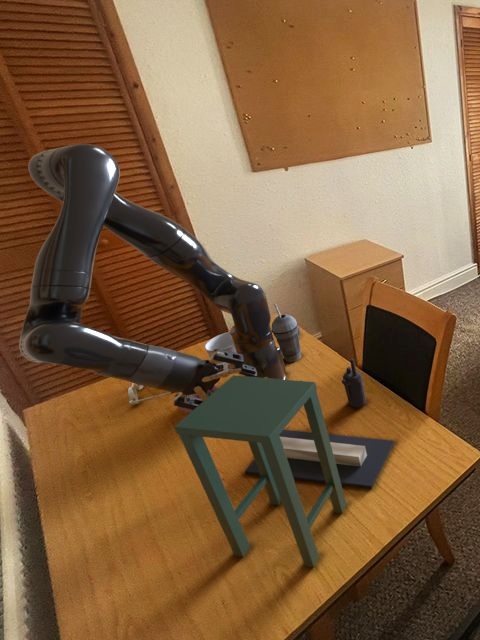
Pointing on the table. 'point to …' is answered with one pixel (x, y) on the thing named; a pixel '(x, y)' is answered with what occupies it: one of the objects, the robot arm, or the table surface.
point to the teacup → (220, 344)
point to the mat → (347, 473)
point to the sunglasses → (131, 396)
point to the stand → (261, 452)
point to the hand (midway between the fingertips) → (243, 388)
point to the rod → (308, 452)
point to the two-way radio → (354, 386)
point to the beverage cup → (287, 336)
